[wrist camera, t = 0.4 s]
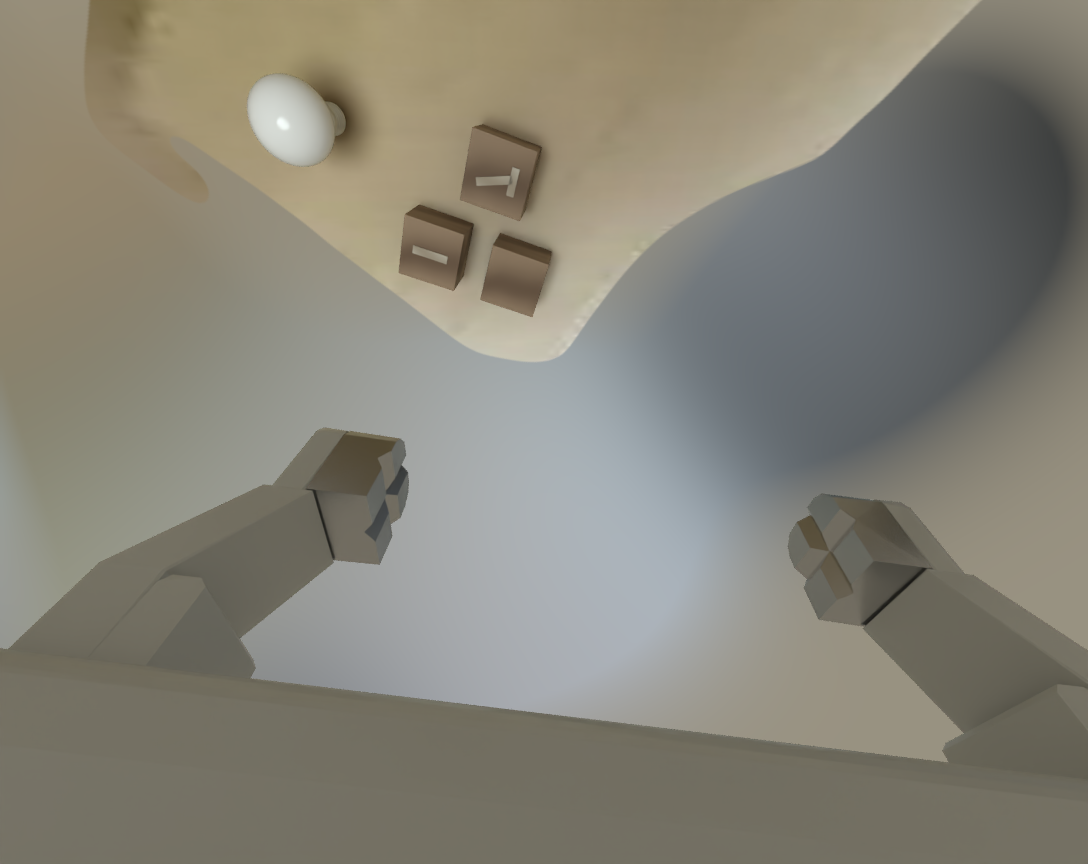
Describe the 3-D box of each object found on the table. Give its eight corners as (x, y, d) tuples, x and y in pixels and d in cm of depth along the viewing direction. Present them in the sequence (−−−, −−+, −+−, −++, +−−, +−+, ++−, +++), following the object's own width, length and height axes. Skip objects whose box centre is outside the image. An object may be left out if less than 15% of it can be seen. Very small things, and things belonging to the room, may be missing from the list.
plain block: (500, 232, 48) (493, 245, 44) (551, 251, 49) (549, 264, 45) (488, 284, 52) (480, 299, 48) (536, 300, 52) (532, 317, 48)
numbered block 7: (482, 124, 42) (472, 127, 38) (541, 147, 43) (537, 152, 39) (470, 190, 46) (459, 200, 42) (525, 210, 46) (519, 221, 42)
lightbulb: (332, 168, 45) (272, 185, 36) (287, 98, 42) (210, 99, 33) (380, 137, 43) (330, 148, 35) (337, 62, 40) (269, 52, 31)
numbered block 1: (419, 204, 47) (404, 214, 43) (473, 223, 48) (463, 235, 44) (413, 259, 50) (398, 273, 46) (463, 275, 51) (453, 291, 47)
